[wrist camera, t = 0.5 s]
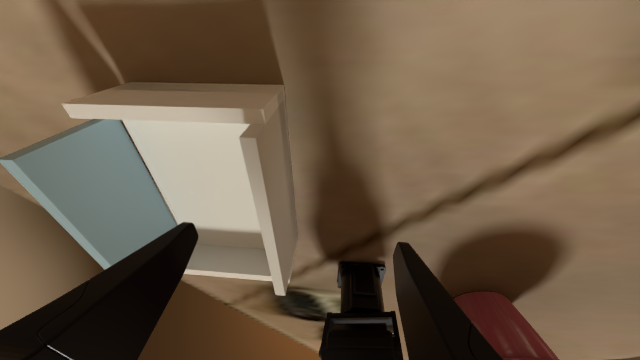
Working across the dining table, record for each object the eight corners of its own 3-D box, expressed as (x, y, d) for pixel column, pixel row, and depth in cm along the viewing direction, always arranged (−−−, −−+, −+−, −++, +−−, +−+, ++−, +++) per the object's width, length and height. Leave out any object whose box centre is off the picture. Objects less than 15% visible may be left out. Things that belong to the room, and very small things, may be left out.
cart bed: (298, 240, 31) (285, 300, 24) (200, 233, 32) (164, 289, 25) (284, 84, 19) (252, 121, 13) (129, 81, 20) (27, 114, 14)
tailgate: (184, 238, 29) (141, 298, 23) (172, 237, 29) (126, 296, 23) (116, 114, 19) (12, 160, 13) (99, 113, 19) (-13, 158, 13)
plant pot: (459, 272, 32) (513, 396, 22) (552, 291, 32) (648, 420, 22) (414, 316, 40) (438, 419, 30) (489, 330, 41) (537, 436, 31)
